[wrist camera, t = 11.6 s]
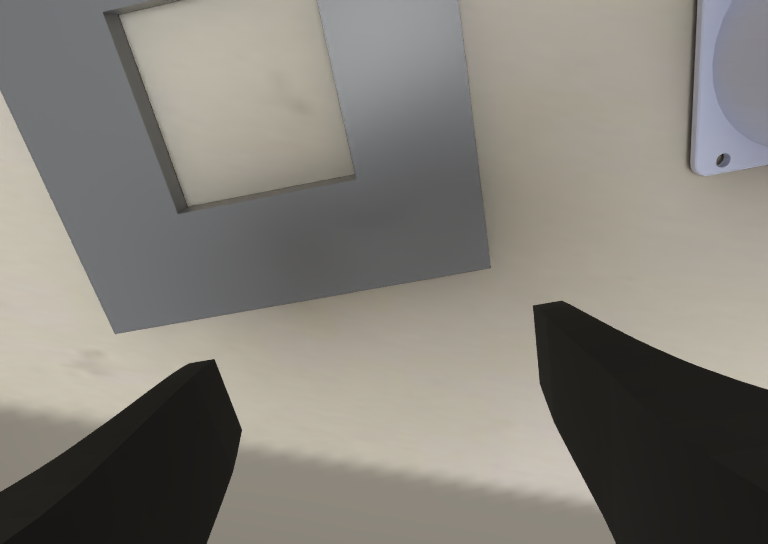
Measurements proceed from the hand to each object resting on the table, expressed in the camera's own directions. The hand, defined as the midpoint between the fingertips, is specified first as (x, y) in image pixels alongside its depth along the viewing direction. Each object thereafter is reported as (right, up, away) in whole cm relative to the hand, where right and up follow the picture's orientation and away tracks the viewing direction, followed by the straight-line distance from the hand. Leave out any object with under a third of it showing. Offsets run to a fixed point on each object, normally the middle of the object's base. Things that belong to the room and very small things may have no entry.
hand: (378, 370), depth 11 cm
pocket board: (-5, +9, +7) cm, 12 cm away
